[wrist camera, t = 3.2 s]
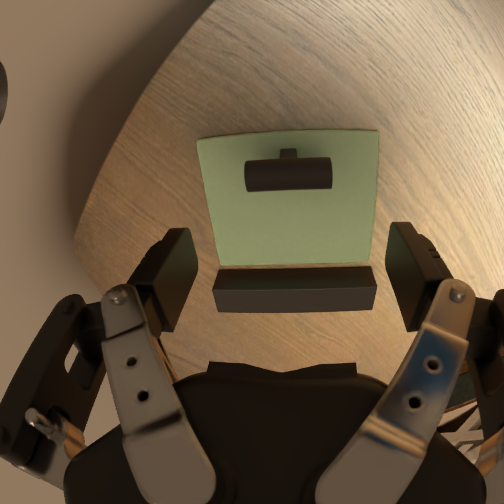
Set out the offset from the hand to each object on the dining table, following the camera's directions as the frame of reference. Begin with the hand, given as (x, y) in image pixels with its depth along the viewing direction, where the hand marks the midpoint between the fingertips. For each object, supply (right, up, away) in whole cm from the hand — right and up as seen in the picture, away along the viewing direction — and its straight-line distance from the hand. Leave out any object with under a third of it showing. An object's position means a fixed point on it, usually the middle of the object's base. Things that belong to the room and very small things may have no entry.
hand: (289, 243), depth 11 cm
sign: (+2, +4, +12) cm, 13 cm away
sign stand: (+3, -3, +17) cm, 18 cm away
